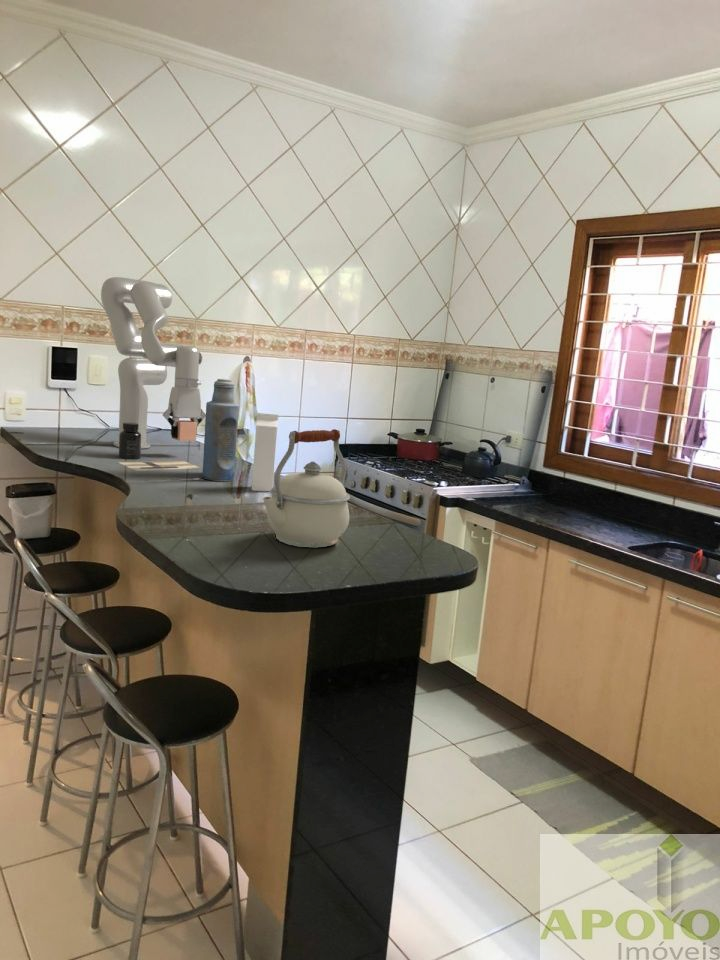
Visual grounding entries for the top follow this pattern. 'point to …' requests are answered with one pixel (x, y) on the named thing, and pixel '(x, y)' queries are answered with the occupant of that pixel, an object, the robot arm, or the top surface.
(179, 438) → the terracotta block
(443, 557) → the top surface
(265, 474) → the milk
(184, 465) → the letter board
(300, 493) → the kettle
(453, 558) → the top surface
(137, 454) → the supplement bottle
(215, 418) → the bottle
